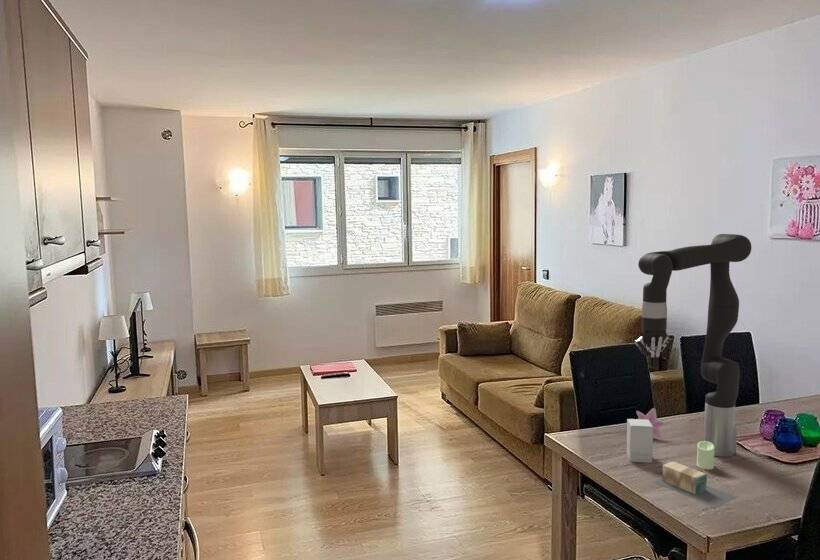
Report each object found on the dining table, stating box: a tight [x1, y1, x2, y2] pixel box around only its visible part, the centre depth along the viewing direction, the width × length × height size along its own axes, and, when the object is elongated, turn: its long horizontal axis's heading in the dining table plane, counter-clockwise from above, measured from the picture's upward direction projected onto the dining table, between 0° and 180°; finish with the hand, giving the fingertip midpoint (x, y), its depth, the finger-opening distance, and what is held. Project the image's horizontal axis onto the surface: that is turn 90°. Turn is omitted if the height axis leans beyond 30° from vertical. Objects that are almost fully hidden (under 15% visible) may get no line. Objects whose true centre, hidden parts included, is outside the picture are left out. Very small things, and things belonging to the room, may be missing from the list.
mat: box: [653, 478, 738, 509], centre depth 181 cm, size 20×11×1 cm, turn 32°
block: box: [661, 461, 708, 494], centre depth 183 cm, size 5×5×11 cm
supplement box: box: [626, 418, 654, 464], centre depth 205 cm, size 7×7×13 cm
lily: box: [635, 407, 666, 441], centre depth 225 cm, size 12×12×10 cm
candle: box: [696, 440, 715, 470], centre depth 196 cm, size 5×5×8 cm
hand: (653, 367), depth 196 cm, fingers closed
